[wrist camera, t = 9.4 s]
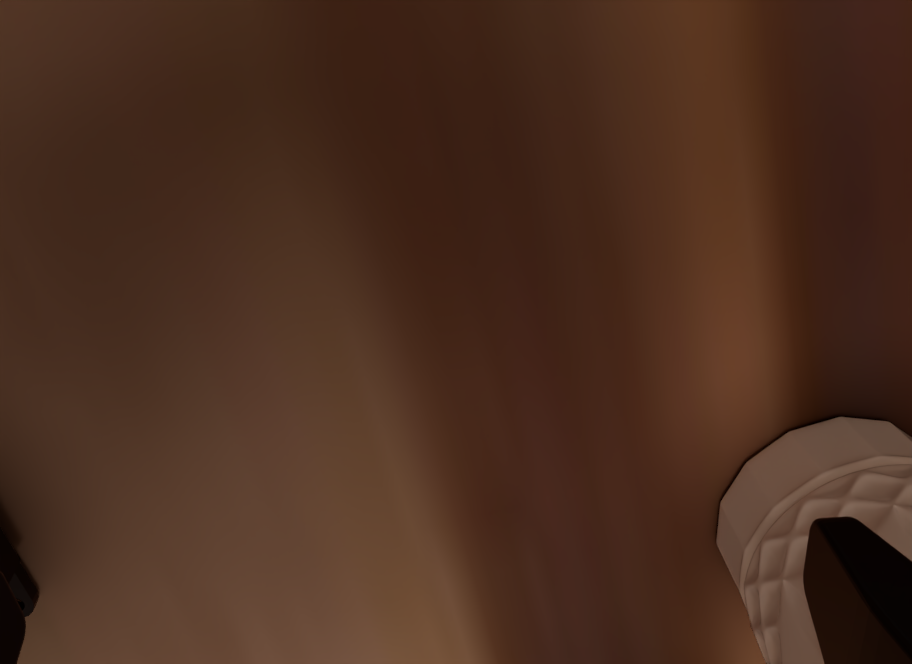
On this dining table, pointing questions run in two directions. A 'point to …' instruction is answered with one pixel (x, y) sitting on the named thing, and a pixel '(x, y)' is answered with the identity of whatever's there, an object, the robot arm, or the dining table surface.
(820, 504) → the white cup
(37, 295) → the dining table surface
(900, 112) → the dining table surface
